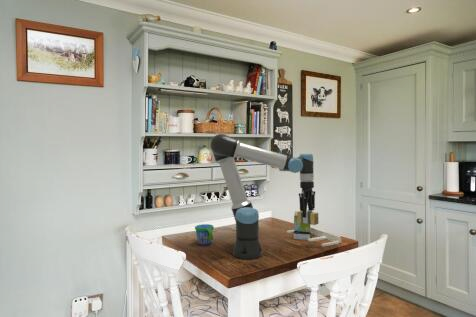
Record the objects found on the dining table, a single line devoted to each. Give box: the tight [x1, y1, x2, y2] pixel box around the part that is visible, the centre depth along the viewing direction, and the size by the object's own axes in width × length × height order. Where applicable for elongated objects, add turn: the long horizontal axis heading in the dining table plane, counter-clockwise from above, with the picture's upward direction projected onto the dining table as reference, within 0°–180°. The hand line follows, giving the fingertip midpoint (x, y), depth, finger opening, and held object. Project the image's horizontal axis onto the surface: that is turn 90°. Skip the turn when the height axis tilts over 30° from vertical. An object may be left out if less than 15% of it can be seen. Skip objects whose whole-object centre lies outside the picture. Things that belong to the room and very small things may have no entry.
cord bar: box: [297, 210, 319, 226], centre depth 178 cm, size 4×11×6 cm, turn 44°
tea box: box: [293, 210, 311, 241], centre depth 198 cm, size 15×10×15 cm, turn 167°
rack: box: [286, 226, 342, 247], centre depth 195 cm, size 14×35×4 cm, turn 26°
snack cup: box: [194, 223, 215, 246], centre depth 184 cm, size 16×10×10 cm
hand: (307, 222), depth 178 cm, fingers closed on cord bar, 4 cm apart
